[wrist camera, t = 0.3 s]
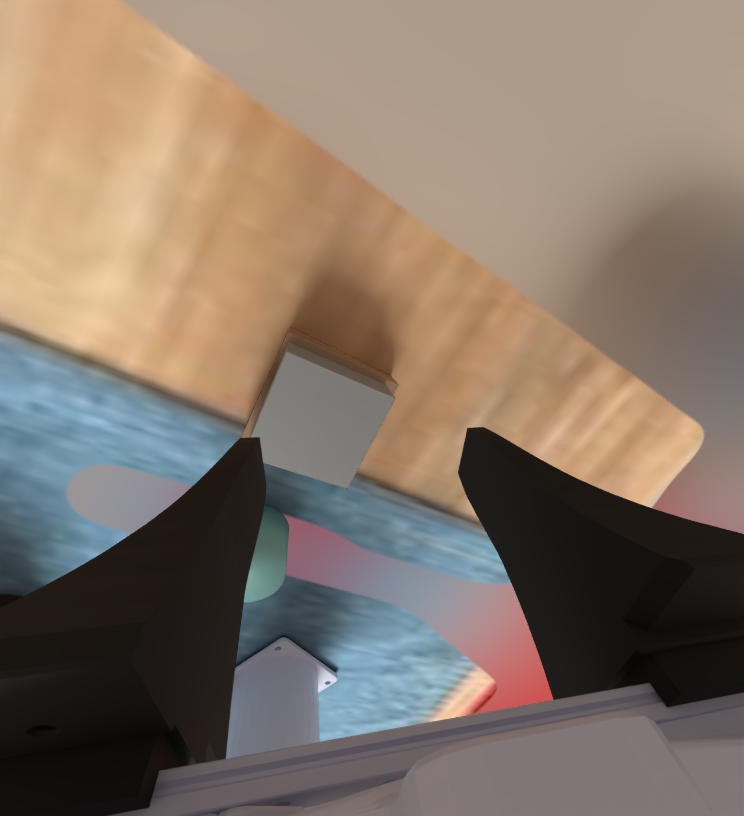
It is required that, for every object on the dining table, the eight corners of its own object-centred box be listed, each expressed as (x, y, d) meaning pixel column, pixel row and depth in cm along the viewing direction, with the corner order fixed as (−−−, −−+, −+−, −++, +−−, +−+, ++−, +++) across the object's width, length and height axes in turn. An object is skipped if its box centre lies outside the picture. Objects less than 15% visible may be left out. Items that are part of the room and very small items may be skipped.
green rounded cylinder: (253, 564, 26) (244, 613, 22) (208, 529, 24) (190, 575, 20) (301, 531, 25) (300, 575, 22) (260, 492, 23) (251, 533, 20)
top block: (343, 466, 22) (347, 489, 19) (250, 435, 20) (242, 456, 17) (385, 384, 20) (395, 398, 18) (288, 341, 18) (286, 351, 16)
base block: (342, 459, 24) (346, 478, 22) (247, 423, 22) (240, 440, 20) (389, 373, 23) (398, 384, 20) (290, 325, 20) (288, 331, 18)
